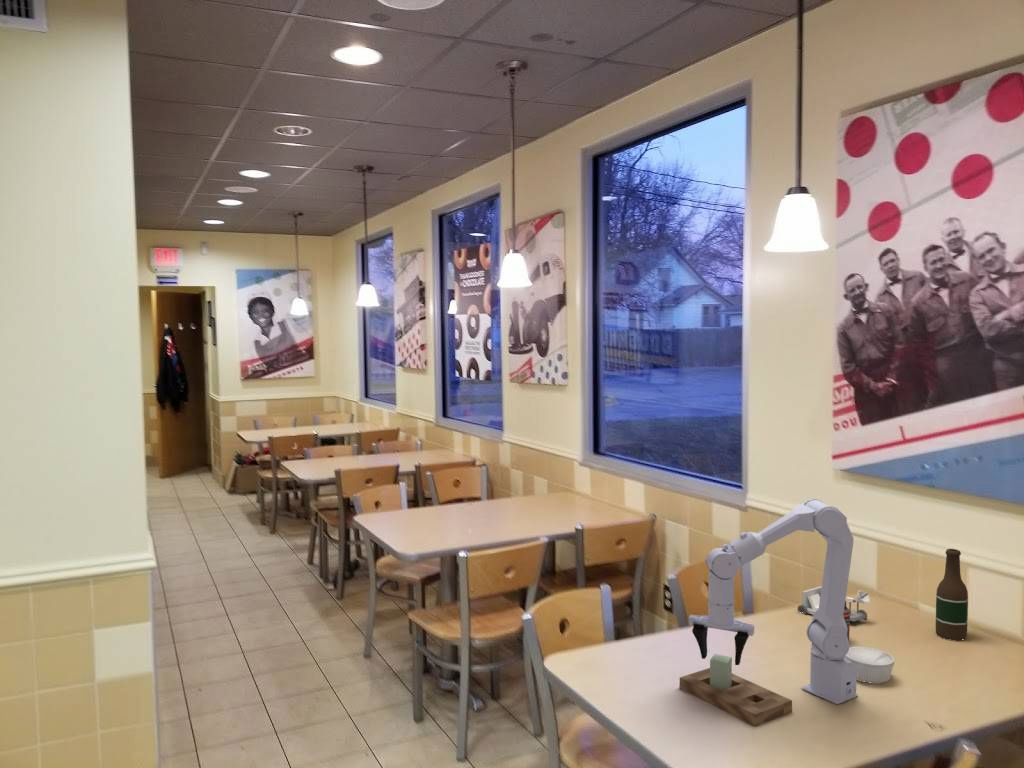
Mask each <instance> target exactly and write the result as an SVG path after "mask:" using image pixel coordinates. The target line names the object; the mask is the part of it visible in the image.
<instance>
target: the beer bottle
mask: <svg viewBox="0 0 1024 768" xmlns="http://www.w3.org/2000/svg"><path fill="white" fill-rule="evenodd" d="M961 555H962V554H961V551H960V549H959V550H958V549H956V548H947V549H946V551H945V556H946V559H945V569H944V575H943V578H942V580H941V581H940V582H939V583H938V586H937V588H936V596H935V602H936V603H935V634H937V635H936V636H938V637H939V636H940V638H941V637H942V638H941V639H943V638H945V639H944V640H947V639H951V640H950V641H952V640H962V639H965V640H966V639H967V637H966V636H968V617H969V616H968V615H969V613H968V611H969V609H968V608H969V593H968V589H967V586H966V584H965V583H964V581H963V580H962V575H961Z"/></svg>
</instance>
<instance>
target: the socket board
mask: <svg viewBox="0 0 1024 768" xmlns="http://www.w3.org/2000/svg"><path fill="white" fill-rule="evenodd" d="M679 689H681V690H683V691H685V692H686V693H688V694H691V695H692V696H695V697H697V698H698V699H701V700H703V701H704V702H707V703H708V704H710V705H712V706H715V707H716V708H719V709H720V710H722V711H725V712H726V713H728V714H730V715H732V716H734V717H736V718H738V719H740V720H741V721H744V722H746V723H748V724H750V725H752V726H754V727H757V726H759V725H763V724H764V723H767V722H769V721H772V720H774V719H776V718H780V717H782V716H785V715H788V714H789V713H792V712H793V699H790V698H787V697H786V696H783V695H782V694H779V693H776V692H774V691H772V690H770V689H767V688H765V687H763V686H761V685H758V684H756V683H754V682H752V681H750V680H747V679H745V678H743V677H741V676H738V675H736V674H734V673H732V687H731V688H728V689H725V690H722V691H721V690H719V689H717V688H715V687H712V686H710V667H709V668H705V669H702V670H698V671H696V672H693V673H689V674H686V675H683V676H681V677H679Z"/></svg>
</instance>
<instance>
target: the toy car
mask: <svg viewBox="0 0 1024 768" xmlns="http://www.w3.org/2000/svg"><path fill="white" fill-rule="evenodd" d="M821 587H822V585H820V586H816V587H813V588H810V589H806V590H803V591H801V604H800V605H798V606H797V612H798V611H799V612H801V613H802V612H803V613H804V614H806V615H807V614H810V615H812V616H813V613H814V612H815V611H817V610H818V609H819V602H820V595H821ZM855 598H856V599H855ZM855 598H853V597H851V596H850V597H849V596H846V599H845V600H846V602H848V603H849V604H848V609H849V610H850V622H856V621H860V620H863V619H865V620H867V618H868V613H867V612H866V611H865V610H864V609H859V607H860V606H859V605H860V604H868V603H870V601H871V598H870V596H869V594H868V593H867V592H866V591H864V590H861V589H859V590H858V591H857V593H856V597H855ZM852 603H856V610H851V609H852ZM859 603H860V604H859Z"/></svg>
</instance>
